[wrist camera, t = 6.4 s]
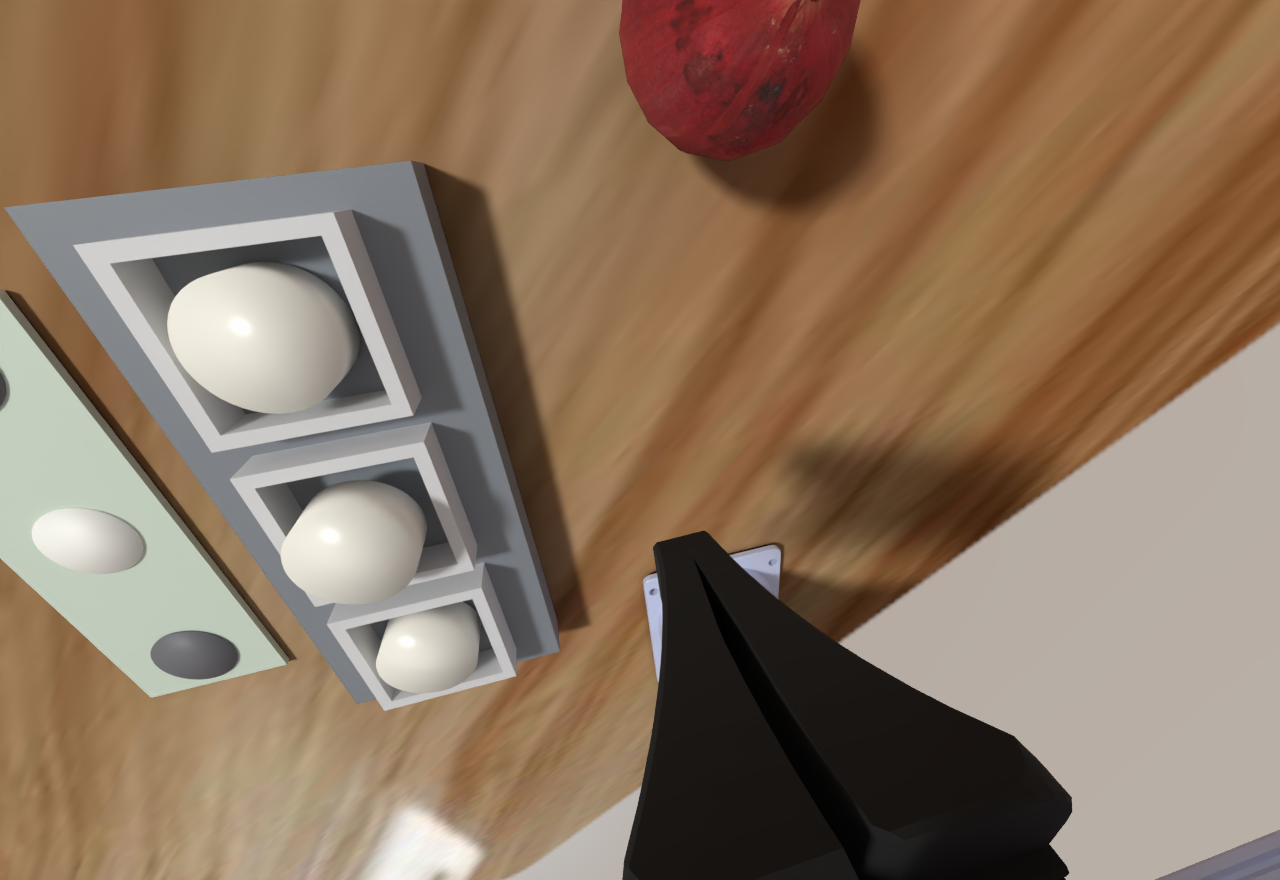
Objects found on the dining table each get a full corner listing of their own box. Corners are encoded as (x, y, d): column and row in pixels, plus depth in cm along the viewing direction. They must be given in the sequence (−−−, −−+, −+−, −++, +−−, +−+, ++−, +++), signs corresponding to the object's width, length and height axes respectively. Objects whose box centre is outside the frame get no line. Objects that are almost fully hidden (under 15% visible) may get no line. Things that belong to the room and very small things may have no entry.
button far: (490, 644, 23) (488, 678, 21) (405, 666, 22) (396, 702, 21) (466, 587, 21) (462, 619, 19) (371, 609, 20) (359, 644, 19)
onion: (749, 174, 17) (898, 170, 10) (593, 148, 16) (647, 125, 9) (792, -40, 15) (1030, -233, 8) (610, -93, 13) (704, -387, 6)
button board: (557, 620, 26) (561, 677, 23) (368, 667, 25) (347, 734, 22) (423, 162, 15) (398, 158, 12) (69, 204, 14) (-59, 210, 11)
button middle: (441, 554, 18) (434, 588, 17) (333, 578, 18) (314, 616, 16) (404, 469, 16) (392, 499, 15) (281, 494, 16) (255, 528, 14)
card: (289, 659, 23) (285, 666, 23) (155, 691, 22) (149, 699, 22) (4, 289, 14) (-9, 292, 14) (-237, 322, 13) (-257, 326, 13)
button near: (379, 378, 16) (364, 399, 14) (250, 400, 15) (220, 425, 14) (326, 251, 14) (302, 261, 12) (176, 272, 13) (130, 284, 12)
